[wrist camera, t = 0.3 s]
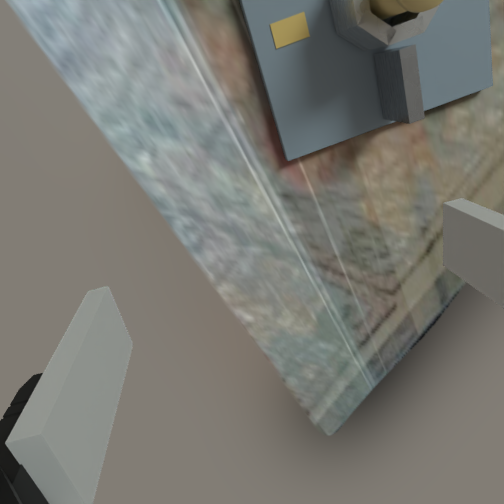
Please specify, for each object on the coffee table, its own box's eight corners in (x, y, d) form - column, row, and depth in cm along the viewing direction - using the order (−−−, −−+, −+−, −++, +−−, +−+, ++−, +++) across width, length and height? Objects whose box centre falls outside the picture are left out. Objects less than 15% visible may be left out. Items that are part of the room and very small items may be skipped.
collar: (313, -78, 30) (334, -107, 26) (399, -110, 30) (435, -145, 26) (355, 129, 38) (377, 135, 33) (425, 104, 38) (457, 106, 33)
